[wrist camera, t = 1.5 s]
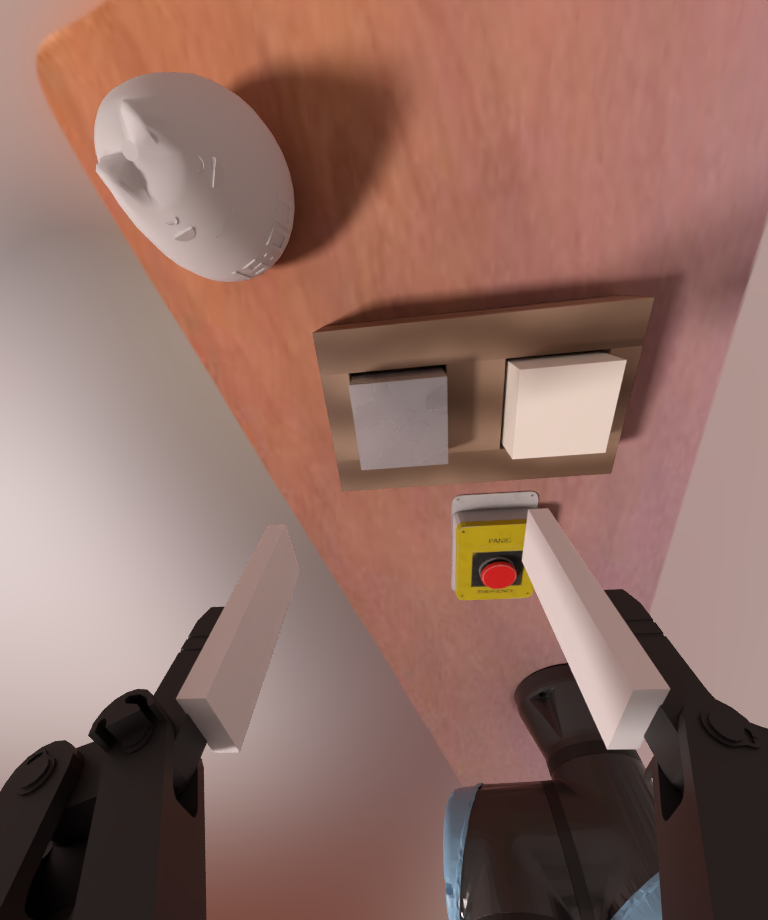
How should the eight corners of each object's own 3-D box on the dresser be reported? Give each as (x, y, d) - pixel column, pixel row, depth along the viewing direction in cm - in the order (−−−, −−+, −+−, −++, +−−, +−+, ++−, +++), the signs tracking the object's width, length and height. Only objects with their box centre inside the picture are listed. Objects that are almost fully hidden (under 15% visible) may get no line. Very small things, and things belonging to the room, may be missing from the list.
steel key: (443, 445, 30) (448, 464, 27) (364, 451, 30) (361, 470, 27) (441, 365, 26) (447, 376, 23) (353, 374, 27) (348, 385, 24)
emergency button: (456, 618, 40) (457, 516, 33) (450, 588, 44) (451, 492, 37) (536, 615, 39) (554, 512, 32) (523, 585, 43) (537, 487, 36)
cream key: (583, 435, 29) (605, 452, 26) (500, 441, 29) (512, 459, 26) (599, 351, 25) (626, 359, 22) (505, 359, 26) (520, 369, 23)
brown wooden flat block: (585, 450, 33) (611, 473, 29) (348, 467, 35) (342, 491, 31) (616, 295, 27) (654, 297, 23) (324, 326, 29) (312, 332, 25)
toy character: (258, 311, 28) (175, 328, 18) (141, 208, 25) (-43, 154, 15) (334, 200, 25) (287, 136, 14) (208, 63, 22) (25, -152, 11)
